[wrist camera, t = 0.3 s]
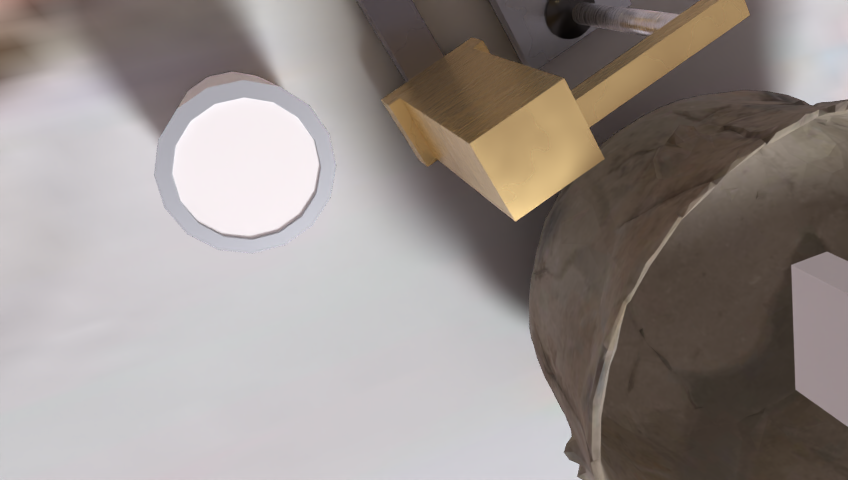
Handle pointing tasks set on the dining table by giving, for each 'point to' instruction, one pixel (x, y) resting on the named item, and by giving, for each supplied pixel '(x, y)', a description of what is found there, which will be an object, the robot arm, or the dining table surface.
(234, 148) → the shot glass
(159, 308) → the dining table surface
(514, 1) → the hole plate
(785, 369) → the bowl
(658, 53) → the fixed leg
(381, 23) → the rail
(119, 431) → the dining table surface
